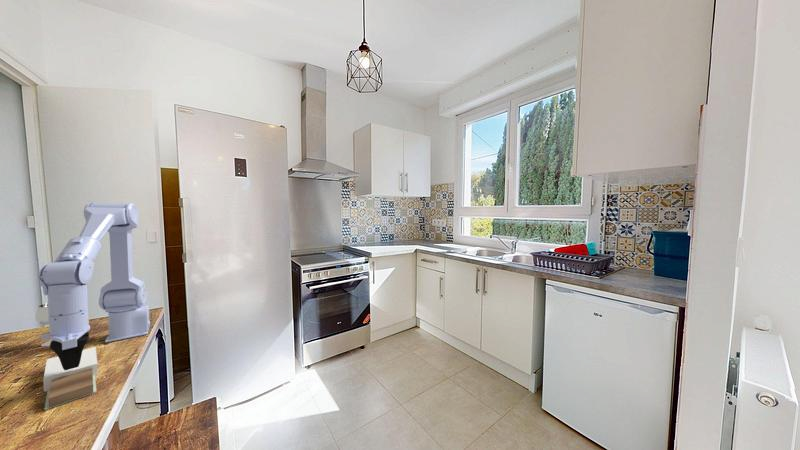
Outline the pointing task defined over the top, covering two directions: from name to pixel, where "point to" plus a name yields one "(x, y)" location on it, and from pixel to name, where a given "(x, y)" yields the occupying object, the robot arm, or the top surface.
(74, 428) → the top surface
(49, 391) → the mat
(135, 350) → the top surface
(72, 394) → the tan cardboard slab
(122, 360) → the top surface
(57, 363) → the tray
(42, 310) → the wineglass
